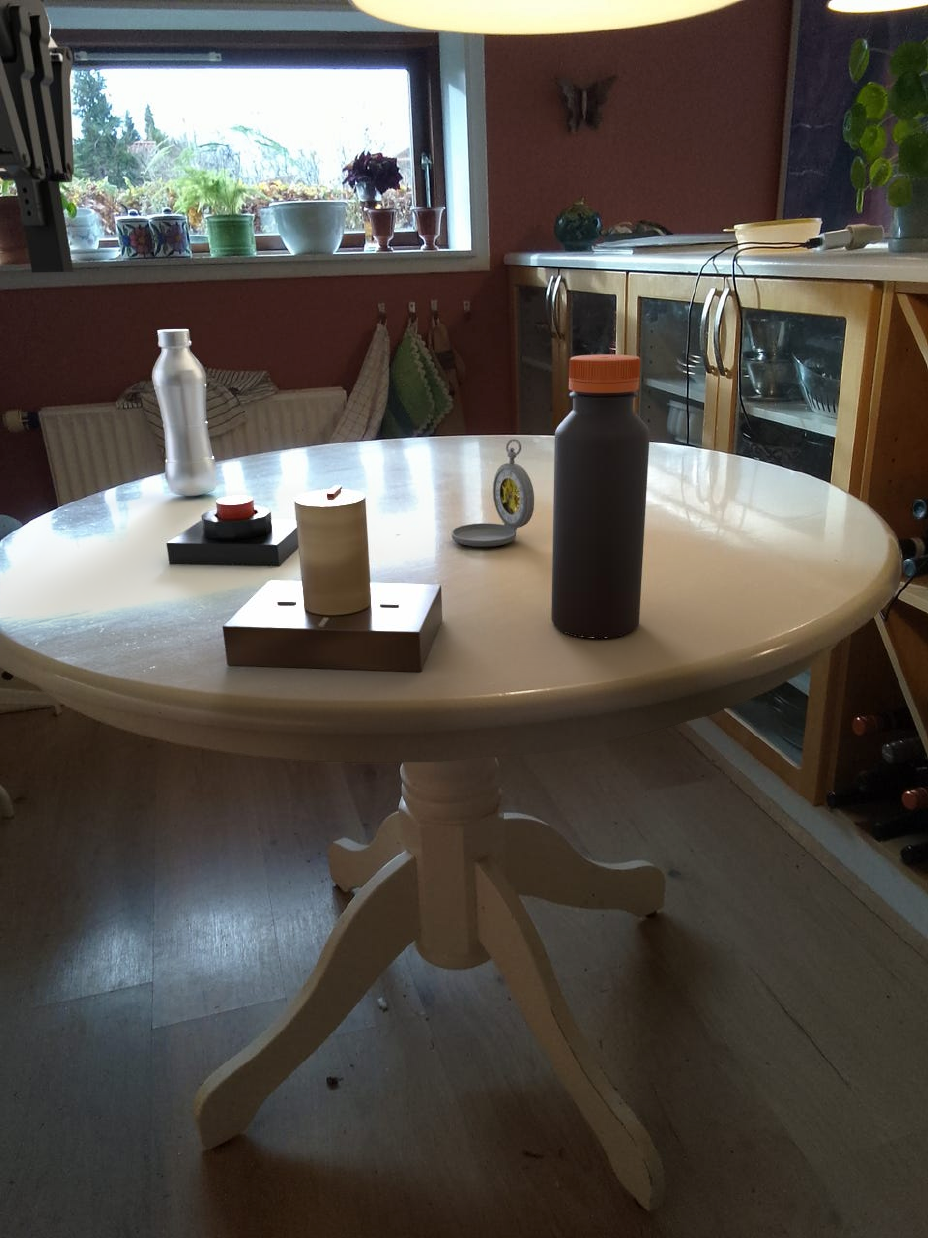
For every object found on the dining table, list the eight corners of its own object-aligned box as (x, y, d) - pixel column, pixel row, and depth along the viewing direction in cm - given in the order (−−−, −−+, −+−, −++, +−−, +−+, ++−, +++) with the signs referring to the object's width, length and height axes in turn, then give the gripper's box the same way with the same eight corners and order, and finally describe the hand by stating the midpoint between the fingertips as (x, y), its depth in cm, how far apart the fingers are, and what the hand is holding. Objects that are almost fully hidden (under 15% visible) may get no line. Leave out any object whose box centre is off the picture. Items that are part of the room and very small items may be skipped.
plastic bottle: (168, 503, 109) (144, 332, 102) (167, 491, 115) (144, 329, 108) (222, 498, 111) (202, 330, 104) (218, 487, 117) (199, 327, 110)
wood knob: (363, 616, 63) (356, 502, 60) (295, 614, 64) (284, 501, 61) (377, 592, 68) (371, 485, 65) (314, 591, 69) (305, 485, 66)
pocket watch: (440, 546, 90) (437, 446, 86) (476, 525, 97) (474, 432, 93) (515, 555, 87) (515, 452, 83) (546, 533, 94) (547, 437, 90)
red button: (212, 521, 87) (209, 504, 86) (225, 512, 90) (223, 495, 89) (247, 522, 86) (245, 504, 86) (260, 512, 90) (258, 495, 89)
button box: (169, 564, 86) (163, 524, 84) (205, 538, 94) (201, 501, 93) (279, 567, 85) (275, 526, 83) (306, 540, 93) (303, 502, 91)
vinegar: (541, 634, 67) (545, 361, 60) (562, 605, 73) (568, 352, 66) (630, 645, 65) (646, 362, 58) (645, 613, 71) (661, 353, 64)
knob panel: (226, 665, 63) (221, 624, 62) (272, 615, 73) (268, 578, 71) (421, 672, 62) (419, 630, 60) (442, 620, 71) (441, 582, 70)
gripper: (-18, -128, 57) (51, 271, 65) (88, -58, 69) (134, 270, 77) (-125, -119, 58) (-43, 273, 66) (-3, -52, 70) (53, 272, 78)
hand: (52, 271), depth 72 cm, fingers closed
